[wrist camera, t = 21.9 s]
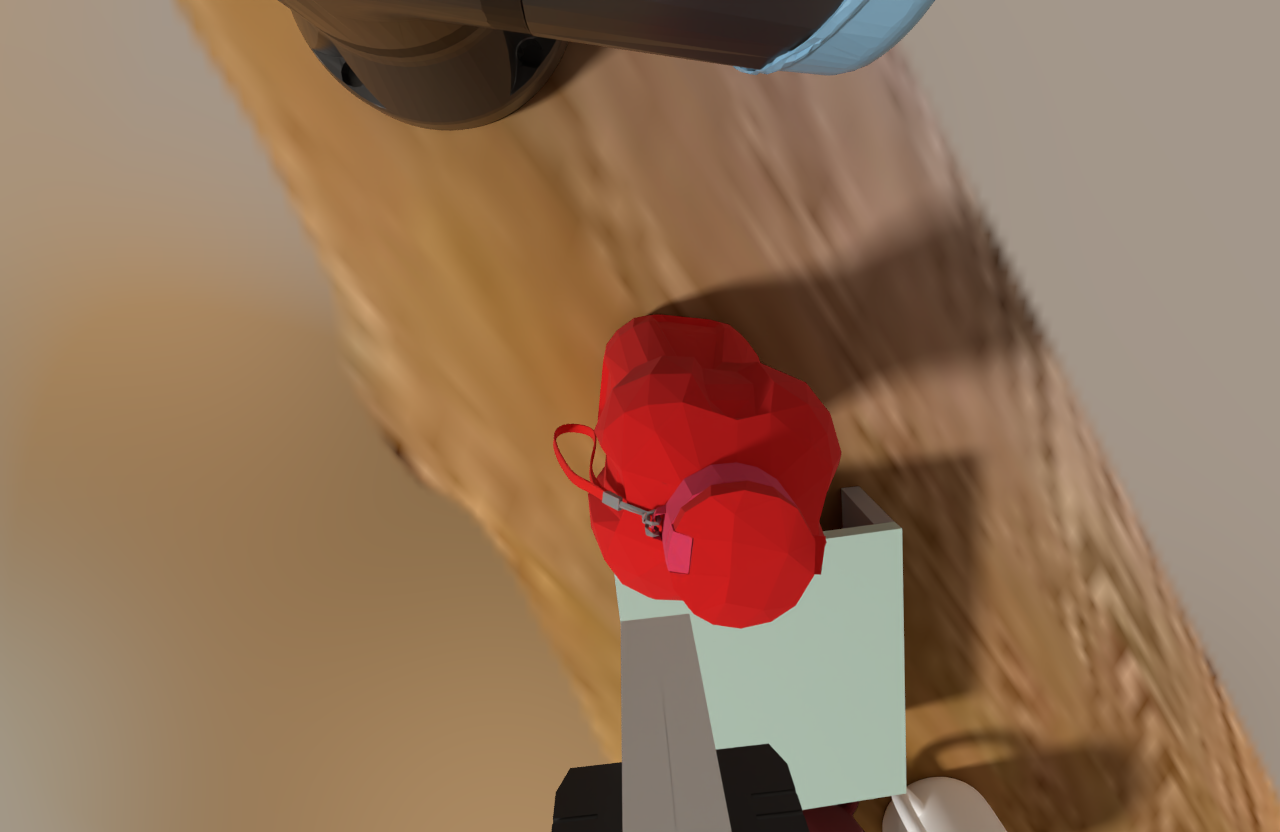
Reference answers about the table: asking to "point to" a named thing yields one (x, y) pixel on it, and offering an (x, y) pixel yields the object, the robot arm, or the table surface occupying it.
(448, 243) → the table surface
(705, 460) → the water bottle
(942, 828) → the cup
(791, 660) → the lid
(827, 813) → the mug
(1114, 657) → the table surface
